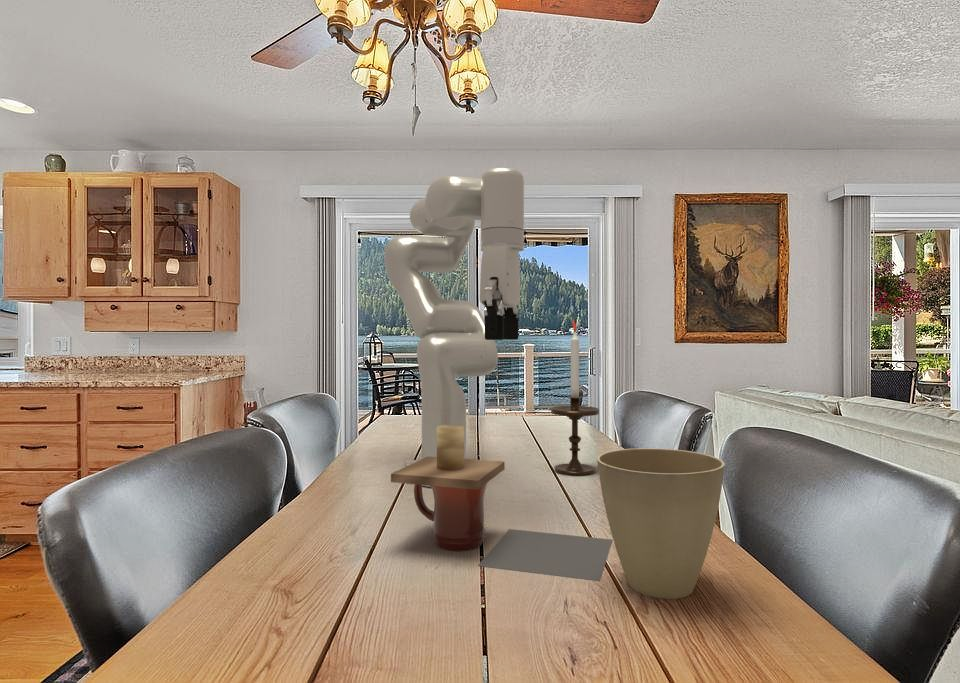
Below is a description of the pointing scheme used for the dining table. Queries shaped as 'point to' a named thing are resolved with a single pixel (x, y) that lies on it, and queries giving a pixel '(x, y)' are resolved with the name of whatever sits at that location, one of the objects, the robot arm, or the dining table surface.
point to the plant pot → (661, 515)
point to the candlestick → (575, 416)
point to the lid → (449, 465)
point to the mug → (455, 516)
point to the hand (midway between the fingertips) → (502, 339)
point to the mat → (549, 554)
